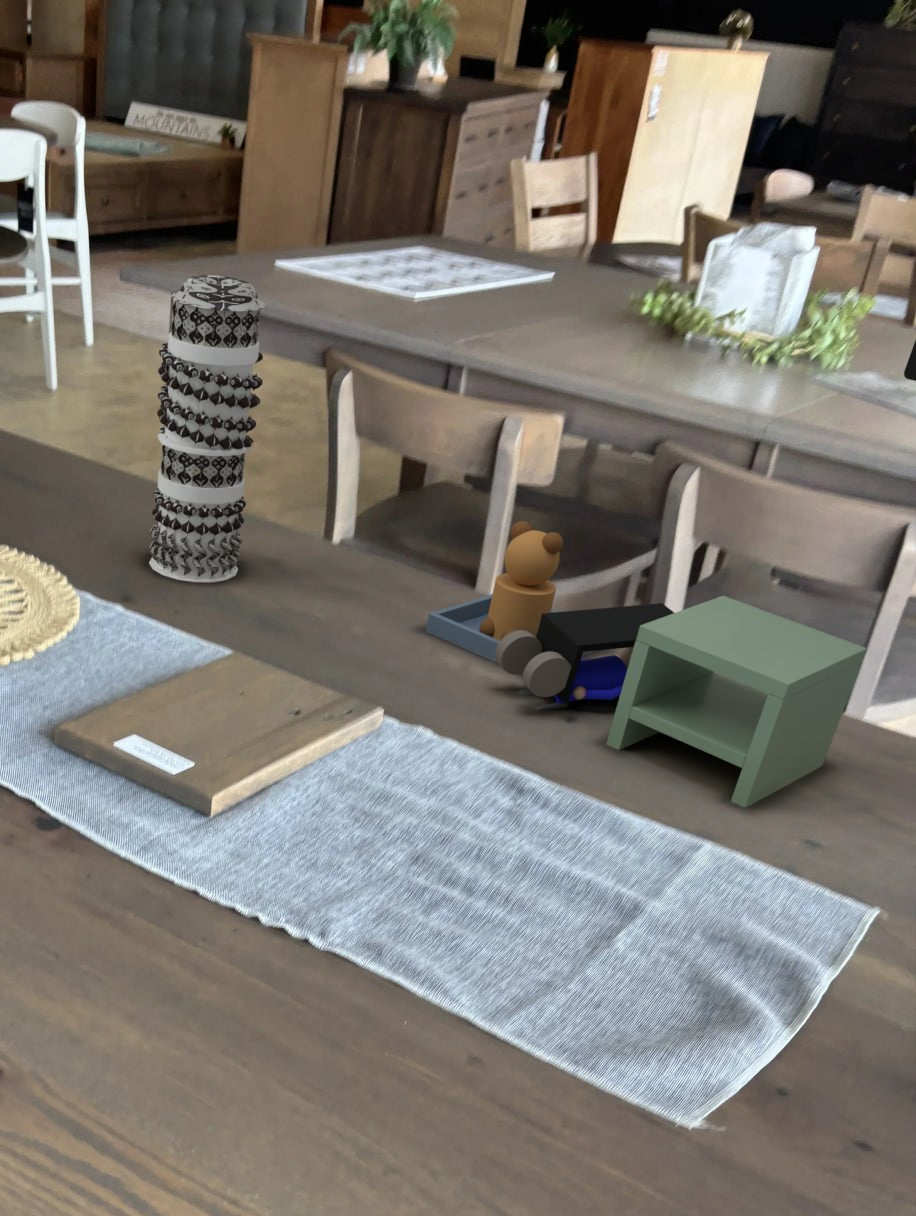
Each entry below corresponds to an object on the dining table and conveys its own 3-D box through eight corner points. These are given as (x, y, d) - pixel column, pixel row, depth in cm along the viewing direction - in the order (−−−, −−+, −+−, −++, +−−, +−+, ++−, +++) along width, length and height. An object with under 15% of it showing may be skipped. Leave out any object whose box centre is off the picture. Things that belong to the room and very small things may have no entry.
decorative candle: (143, 549, 137) (163, 266, 123) (238, 556, 138) (269, 275, 123) (144, 582, 129) (165, 285, 115) (244, 590, 130) (277, 295, 116)
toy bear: (507, 622, 128) (532, 513, 122) (554, 642, 125) (582, 531, 119) (468, 634, 125) (492, 523, 119) (516, 655, 122) (542, 542, 116)
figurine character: (525, 741, 112) (689, 710, 116) (537, 652, 108) (707, 623, 111) (486, 704, 117) (643, 676, 121) (496, 618, 113) (659, 592, 116)
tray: (500, 610, 132) (505, 589, 131) (601, 652, 126) (607, 631, 124) (424, 634, 125) (428, 612, 124) (526, 679, 119) (532, 657, 118)
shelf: (686, 712, 116) (723, 595, 111) (821, 769, 110) (868, 648, 104) (604, 747, 109) (639, 625, 103) (743, 811, 102) (789, 684, 97)
